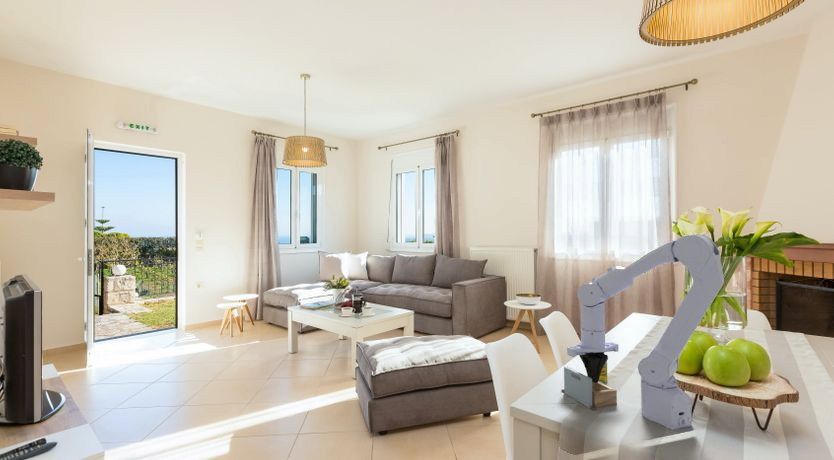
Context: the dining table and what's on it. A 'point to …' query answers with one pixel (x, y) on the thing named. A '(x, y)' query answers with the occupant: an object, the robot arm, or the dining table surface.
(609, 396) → the crate
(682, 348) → the robot arm
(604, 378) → the supplement bottle
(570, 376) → the panel
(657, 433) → the dining table surface
